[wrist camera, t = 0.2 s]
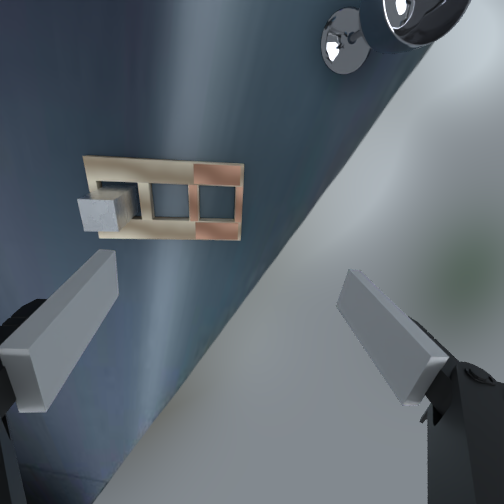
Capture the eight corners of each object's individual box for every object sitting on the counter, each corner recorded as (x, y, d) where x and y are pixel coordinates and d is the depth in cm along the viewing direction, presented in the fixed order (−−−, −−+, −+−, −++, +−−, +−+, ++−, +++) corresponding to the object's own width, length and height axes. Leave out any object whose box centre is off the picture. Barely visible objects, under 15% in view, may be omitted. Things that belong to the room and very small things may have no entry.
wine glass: (387, 34, 34) (498, -30, 20) (346, 91, 36) (422, 67, 23) (346, -16, 31) (443, -127, 18) (305, 49, 33) (363, -6, 20)
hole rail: (88, 155, 36) (81, 156, 34) (243, 163, 39) (244, 165, 37) (103, 234, 41) (98, 238, 39) (239, 236, 44) (240, 240, 42)
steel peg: (107, 184, 38) (77, 199, 30) (135, 185, 38) (113, 200, 30) (112, 210, 39) (84, 231, 31) (139, 211, 40) (118, 231, 32)
